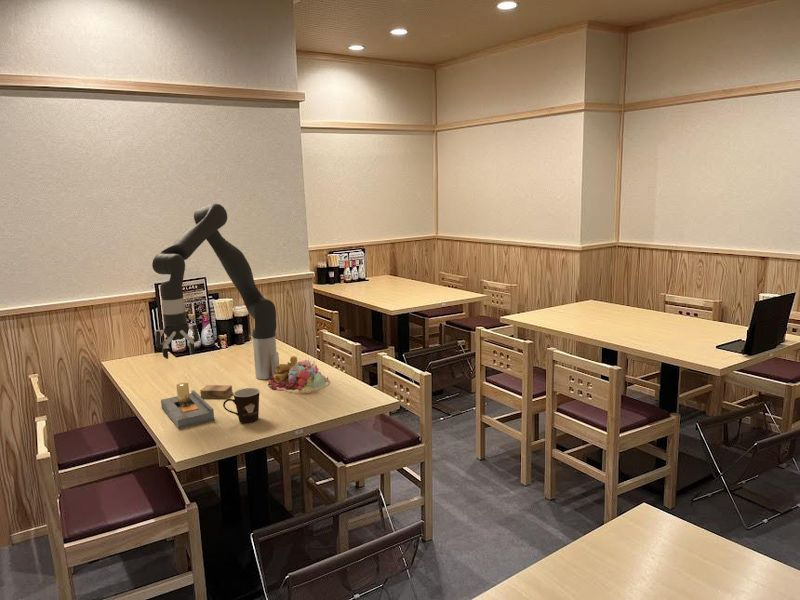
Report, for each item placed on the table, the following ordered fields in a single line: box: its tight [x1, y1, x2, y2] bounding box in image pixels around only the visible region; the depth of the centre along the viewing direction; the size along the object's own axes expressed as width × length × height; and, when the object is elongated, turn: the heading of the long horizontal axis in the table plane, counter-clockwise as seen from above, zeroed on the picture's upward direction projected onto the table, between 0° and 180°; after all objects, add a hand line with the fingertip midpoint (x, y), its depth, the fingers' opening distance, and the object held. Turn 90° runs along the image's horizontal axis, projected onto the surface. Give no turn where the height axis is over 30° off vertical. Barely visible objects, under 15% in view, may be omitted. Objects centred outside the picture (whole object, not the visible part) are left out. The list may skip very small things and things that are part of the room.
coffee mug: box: [222, 387, 260, 425], centre depth 205 cm, size 12×9×10 cm
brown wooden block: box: [200, 384, 233, 399], centre depth 231 cm, size 10×6×3 cm, turn 83°
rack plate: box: [160, 389, 215, 430], centre depth 213 cm, size 24×12×4 cm, turn 34°
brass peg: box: [175, 382, 190, 407], centre depth 215 cm, size 4×4×10 cm
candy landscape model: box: [267, 355, 330, 395], centre depth 242 cm, size 25×24×9 cm
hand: (179, 356), depth 212 cm, fingers open, 8 cm apart
